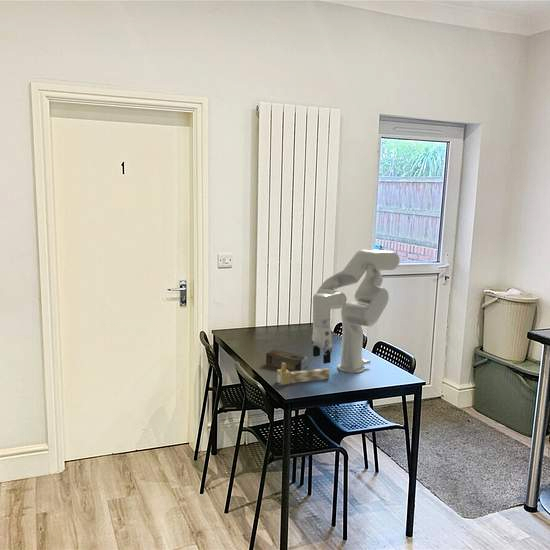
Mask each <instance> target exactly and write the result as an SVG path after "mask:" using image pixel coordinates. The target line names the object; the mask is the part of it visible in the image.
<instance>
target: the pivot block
mask: <svg viewBox="0 0 550 550" xmlns="http://www.w3.org/2000/svg"><path fill="white" fill-rule="evenodd" d="M277 383H279V384H278V385H279V386H282V385H281V374H280V373H278V382H277Z"/></svg>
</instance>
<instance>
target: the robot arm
mask: <svg viewBox="0 0 550 550" xmlns="http://www.w3.org/2000/svg"><path fill="white" fill-rule="evenodd" d="M399 264H400V256H399V254H398V253H397V252H395V251H391V250H383V249H382V250H381V249H370V250H369V249H359V250H358V251H356V253H354V255H353V256H352V258H351V259H350V260H349V262H347V265H345V267H344V268H343V269H342V270H341V271H339V272H337V273H334V274H333V275H331V276H330V277H328V278H327V279H325V280H324V282H323V283H322V284H321V285H320V287H319V288H318V290H317V291H316V293H315V294H314V295H313V297H312V326H313V327H312V335H311V344H312V357H314V358H315V357H320V356H321V350H322V351H323V354H322V355H323V357H322V358H323V360H322V362H323V364H324V365H325V364H329V363H330V364H331V354H332V351H333V338H332V337H333V336H332V327H331V310H336V309H337V310H338V309H341V310H340V312H341V313H340V316H341V323H342V333H341V334H342V335H341V336H342V337H341V352H340V353H341V355H340V356H341V357H340V363H338V364H337V370H339V371H341V372H344V373H349V374H359V373H362V372H364V371H365V369H366V368H365V365H371V362H372V361H371V360H370V359H367V360H366V359H365V358H364V359H362V358H363V343H364V342H363V339H364V331H363V327H362V326H364V327H368V328H369V327H370V328H371V327H373V326H375V325H376V324H377V322H378V321H379V319H380V317H381V315H382V313H383V312H384V310H385V308H386V307H387V305H388V302H389V299H390V298H389V291H388V290H387V289H386V288H384V287H382V286H381V285H382V284H383V280H384V279H383V274H382V272H381V271H393V270H395V269H397V268H398V266H399ZM364 274H365V275H364ZM363 276H364V278H363V279H362V281H361V283H360V284H359V286H358V288H357V289H356V291H355V294H354V300H355V301H349V302H347V301H348V298H347V295H346V294H345V293H344V292H342V291H339V290H337V289H339V288H343V287H347V286H351V285H355V284H357V283H359V281H360V279H361V278H362V277H363Z"/></svg>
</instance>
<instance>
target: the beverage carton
mask: <svg viewBox="0 0 550 550" xmlns="http://www.w3.org/2000/svg"><path fill="white" fill-rule="evenodd" d="M309 359H310V357H309V356H305V355H301V354H296V353H292V352H288V351H284V350H283V351H282V350H278V349H273V350H272V351H271V350H270V351H269V352H266V360H265V365H266V366H269V367H272V368H277V367H278V369H281V364H282V362H284V363H286V369H287V370H288V371H290V370H292V371H291V372H294V371H304V370H306V369H307V370H309V364H310V363H309Z"/></svg>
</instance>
